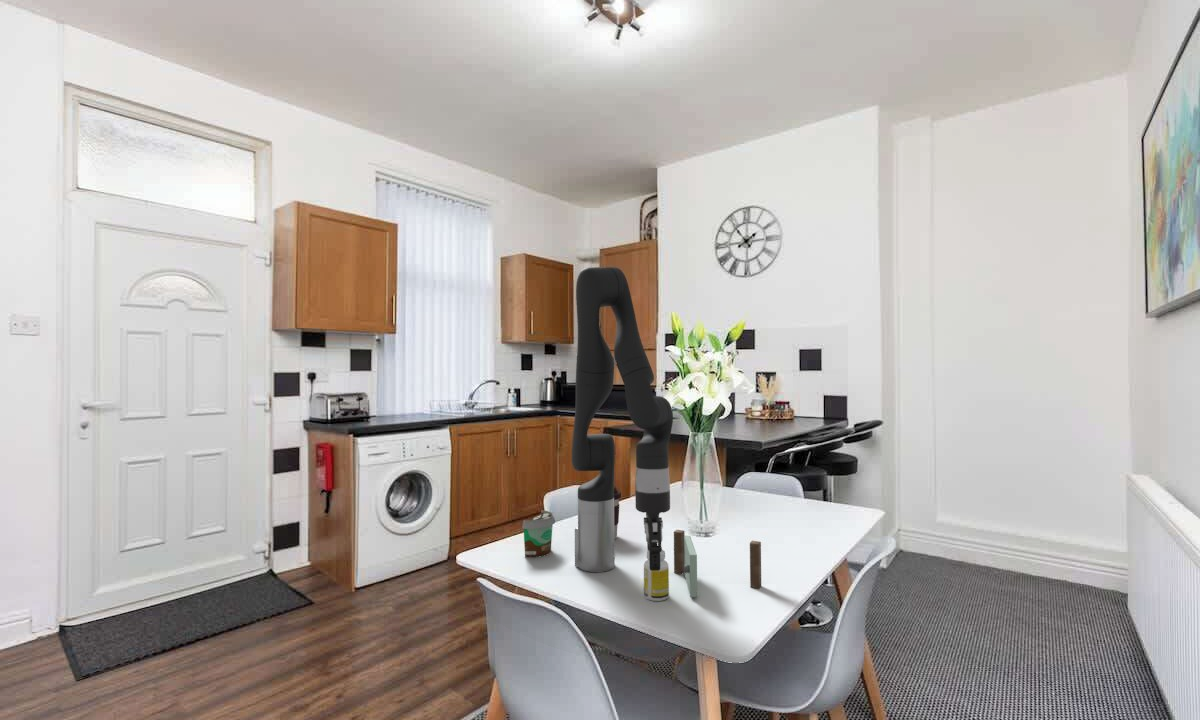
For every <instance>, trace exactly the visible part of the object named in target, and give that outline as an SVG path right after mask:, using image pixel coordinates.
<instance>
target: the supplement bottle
mask: <svg viewBox="0 0 1200 720" xmlns="http://www.w3.org/2000/svg"><path fill="white" fill-rule="evenodd" d="M646 559H647V560H645V561H644V564H643V595H644V598H645V599H647V600H648V601H652V602H663V601H666V600H667V599H668V598H669V595H670V592H669V591H670V587H669V586H670V585H669V583H670V580H669V579H670V578H669V577H670V572H669V563H668V562H667V561H666V560H665V559H666V551H665V550H664V549H662V550H661V552H660V570H659V571H651V570H650V564H649V551H647V550H646Z"/></svg>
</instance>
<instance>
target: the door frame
mask: <svg viewBox="0 0 1200 720" xmlns="http://www.w3.org/2000/svg"><path fill="white" fill-rule="evenodd" d="M684 536H686V535H685V530H683V529H676V530H674V531H673V573H674V574H676V575H677V574H679V575H683V574H685V573H684ZM749 578H750V579H749V586H750V588H752V589H757V590H760V589H761V587H762V542H761V541H757V540H751V541H750V542H749Z"/></svg>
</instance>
